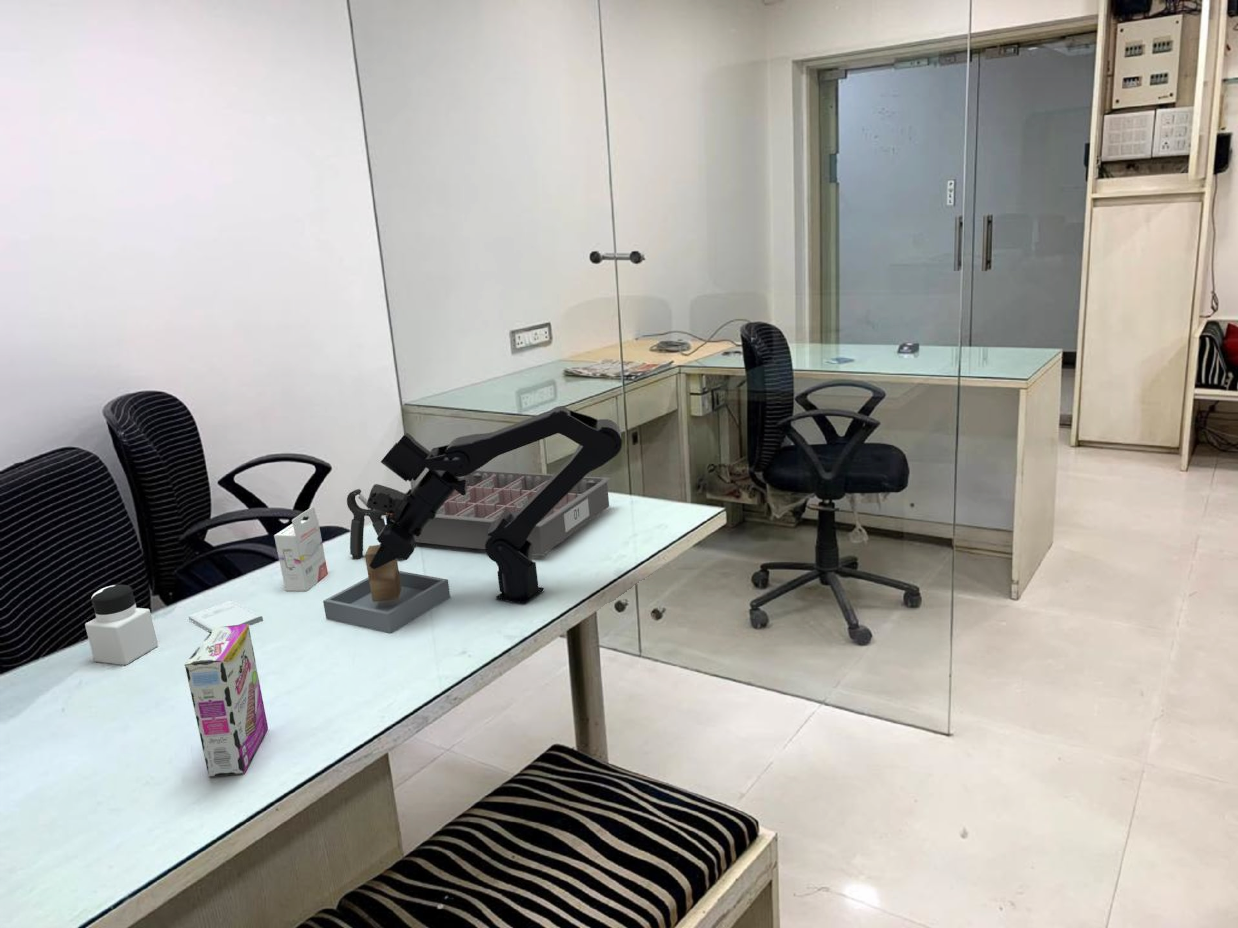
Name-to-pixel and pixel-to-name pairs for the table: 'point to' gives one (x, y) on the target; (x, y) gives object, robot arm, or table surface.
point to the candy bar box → (227, 699)
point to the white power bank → (225, 616)
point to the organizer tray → (512, 509)
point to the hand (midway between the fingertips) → (374, 562)
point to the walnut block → (383, 578)
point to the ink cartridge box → (301, 552)
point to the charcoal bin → (387, 603)
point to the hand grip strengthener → (362, 523)
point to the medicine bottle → (119, 627)
